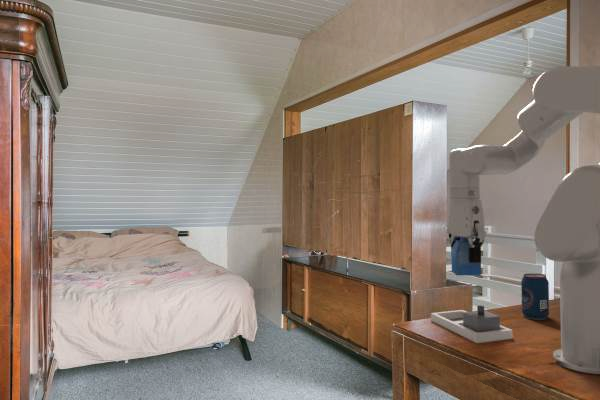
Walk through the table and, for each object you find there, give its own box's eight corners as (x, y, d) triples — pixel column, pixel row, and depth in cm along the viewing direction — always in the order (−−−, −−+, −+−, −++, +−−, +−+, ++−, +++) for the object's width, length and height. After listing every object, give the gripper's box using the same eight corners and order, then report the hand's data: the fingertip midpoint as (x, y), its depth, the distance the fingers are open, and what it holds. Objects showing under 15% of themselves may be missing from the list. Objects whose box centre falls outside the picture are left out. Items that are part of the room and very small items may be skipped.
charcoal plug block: (499, 336, 110) (499, 308, 110) (478, 339, 109) (477, 310, 109) (484, 329, 116) (483, 302, 116) (463, 332, 115) (462, 304, 115)
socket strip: (512, 342, 109) (512, 330, 109) (476, 347, 106) (476, 334, 106) (462, 320, 128) (462, 309, 128) (431, 323, 126) (430, 313, 126)
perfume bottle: (474, 271, 125) (474, 227, 125) (481, 275, 119) (480, 229, 119) (451, 271, 126) (450, 228, 126) (456, 275, 120) (455, 229, 119)
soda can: (516, 314, 133) (515, 273, 132) (538, 313, 134) (537, 272, 134) (532, 321, 126) (531, 278, 126) (555, 319, 127) (554, 276, 127)
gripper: (497, 194, 114) (498, 264, 115) (458, 194, 131) (459, 255, 132) (471, 195, 113) (472, 266, 113) (435, 195, 130) (436, 256, 130)
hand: (465, 259), depth 122 cm, fingers closed on perfume bottle, 7 cm apart
